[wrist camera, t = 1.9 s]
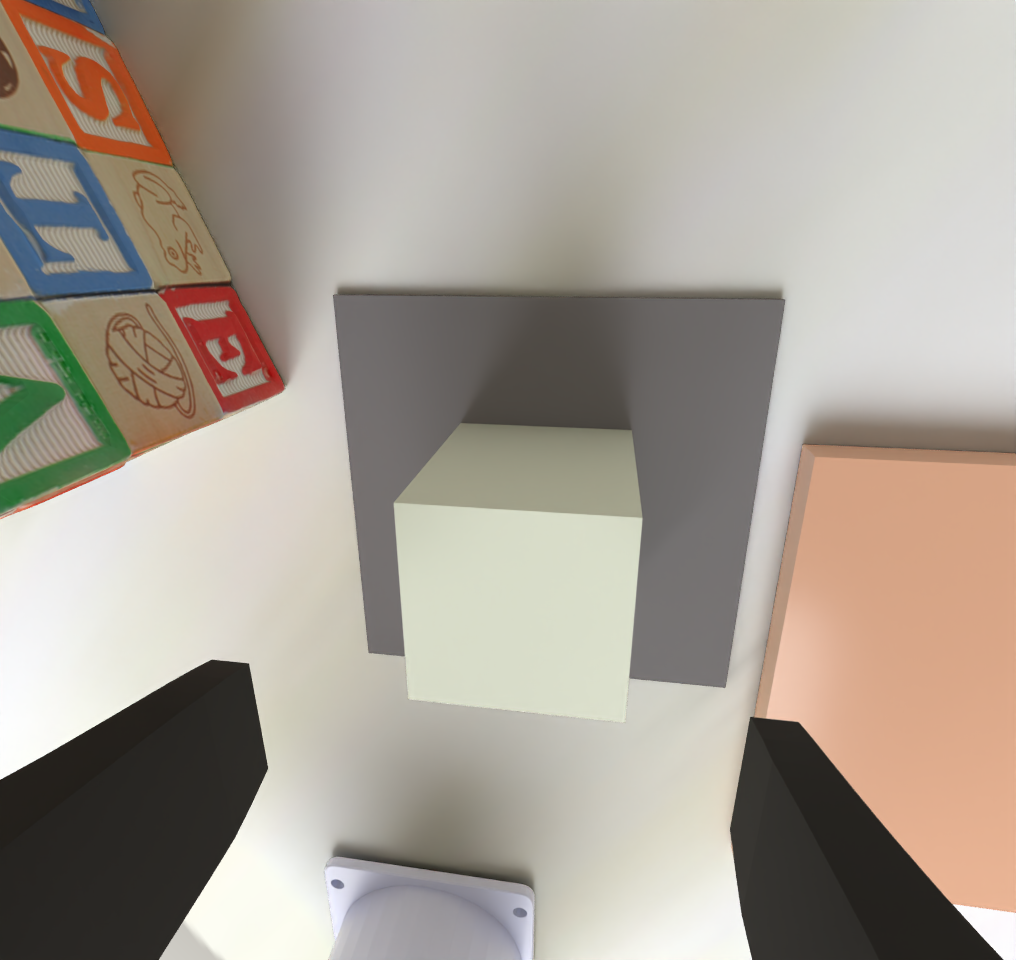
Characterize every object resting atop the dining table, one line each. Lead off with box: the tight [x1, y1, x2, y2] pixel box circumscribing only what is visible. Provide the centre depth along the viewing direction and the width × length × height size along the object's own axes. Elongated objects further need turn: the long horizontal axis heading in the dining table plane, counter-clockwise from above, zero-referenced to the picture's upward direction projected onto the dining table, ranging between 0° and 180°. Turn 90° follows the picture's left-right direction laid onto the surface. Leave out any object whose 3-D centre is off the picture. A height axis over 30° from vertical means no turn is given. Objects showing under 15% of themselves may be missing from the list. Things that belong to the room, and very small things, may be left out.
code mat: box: [333, 295, 785, 688], centre depth 17 cm, size 11×11×1 cm
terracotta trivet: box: [731, 444, 1016, 913], centre depth 17 cm, size 14×11×1 cm
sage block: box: [394, 423, 643, 723], centre depth 14 cm, size 4×4×6 cm
